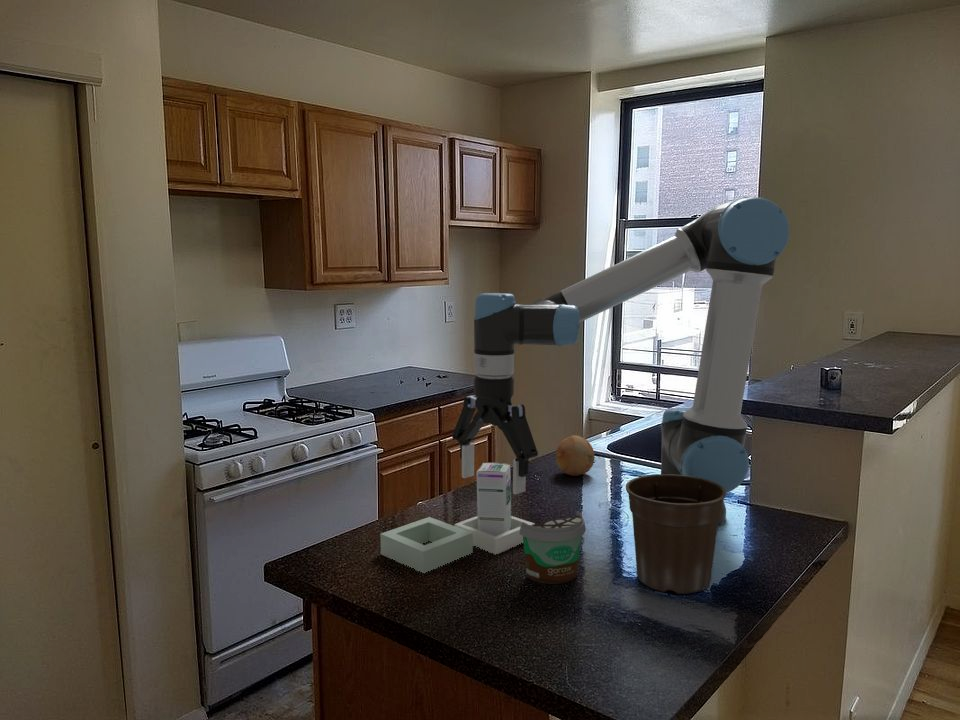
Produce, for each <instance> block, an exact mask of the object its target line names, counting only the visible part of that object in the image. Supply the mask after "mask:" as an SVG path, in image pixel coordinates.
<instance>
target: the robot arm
mask: <svg viewBox="0 0 960 720" xmlns="http://www.w3.org/2000/svg"><path fill="white" fill-rule="evenodd" d="M789 238H790V224H789V220H788V218H787V216H786V214H785V212H784V211H783V210H782V208H780V206H779V205H777V204H776V203H775V202H773V201H772V200H769V199H767V198H763V197H758V196H743V197H740V198H737V199H735V200H730V201H726V202H723V203H720V204H718V205H716V206H715V207H713V208H712V209H710V210H708V211H707V212H705V213H703V214H702V215H701V216H699V217H697V218H696V219H694V220H692V221H690V222H689V223H687V224H685V225H683V226H680V227H679V228H677V229H676V231H675V233H674V235H673V236H672V237H670V238H668V239H666V240H663V241H662V242H661V241H660V242H659V243H658V244H655V245H653V246H651V247H649V248H647V249H645V250H642V251H640V252H638V253H637V254H634V255H632V256H630V257H628V258H626V259H624V260H622V261H620V262H618V263H616V264H613V265H612V266H609V267H607V268H605V269H603V270H601V271H599V272H597V273H595V274H592V275H591V276H588V277H586V278H585V279H582V280H580V281H579V282H576V283H574V284H572V285H570V286H567V287H565V288H563V289H562V290H560V291H558V292H556V293H554V294H551V295H549V296H547V297H545V298H540V299H537V300H536V301H534V302H531V304H523V303H522V304H520V303H516V297H515V295H514V294H512V293H507V292H506V293H505V292H504V293H503V292H502V293H501V292H485V293H479V294H478V295H477V296H476V297H475V300H474V315H473V316H474V318H473V332H474V333H473V337H474V339H473V340H474V341H473V343H474V345H473V346H474V347H473V348H474V349H473V350H474V351H473V352H474V353H473V355H474V357H473V361H474V362H473V363H474V364H473V372H474V374H476V375H475V376H474V377H473V394H474V395H468V396H464V397H463V404H462V405H463V407H462V409H461V412H460V414H459V417H458V420H457V422H456V425H455V427H454V430H453V432H452V436H451V437H452V440H453V441H455V440H456V441H457V442H458V444H459V451H460V452H459V453H460V454H459V457H460V460H461V478H463V479H468V478H470V477H473V476H475V443H473V442H474V440H473V439H474V438H475V437H476V436H477V434H478V433H479V432H480V430H481V428H482V427H484V425H485V424H490V425H492V426H495V427H496V426H497V427H498V429H499V430H501V431H502V433H503V435H504V437H505V439H506V440H507V443H508V444H509V445H510V449H512V451H513V453H514V455H515V457H516V458H514V459H513V460H512V464H513V466H512V494H514V495H518V494H521V493H525V492H526V491H527V490H526V483H527V480H526V479H527V478H526V477H528V475H529V465H530V464H529V460H530V459H531V458H536V457H538V455H539V451H538V449H537V446H536V443H535V441H534V438H533V435H532V431H531V428H530V426H529V422H528V420H527V416H526V407H525V405H524V404H518V405H514V404H512V397H513V395H514V391H515V390H514V389H515V387H514V385H515V380H514V379H515V378H514V377H513V376H512V375H513V374H515V345H521V346H522V345H532V346H533V345H534V346H535V345H537V346H538V345H539V346H544V345H545V346H558V347H562V346H572V345H573V346H574V345H576V344H577V343H578V341H579V337H580V323H582V322H584V321H587V320H588V319H590V318H592V317H595V316H597V315H600V314H601V313H602V312H603V313H604V312H605V311H607V310H609V309H611V308H614V307H616V306H617V305H619V304H620V305H621V304H622V303H624V302H627V301H629V300H631V299H633V298H635V297H637V296H640V295H641V294H643V293H646V292H648V291H650V290H652V289H654V288H656V287H658V286H661V285H663V284H665V283H667V282H669V281H671V280H673V279H676V278H678V277H679V276H682V275H684V274H686V273H689V272H690V271H691V272H693V273H700V272H703V271H704V270H705V271H706V272H707V273H708V274H709V276H710V277H711V280H712V284H711V290H710V297H709V303H708V309H707V310H708V311H707V315H706V322H705V329H704V335H703V341H702V347H701V352H700V359H699V366H698V372H697V378H696V384H695V391H694V397H693V403H692V406H691V407H673V408H668V409H665V410H664V411H663V414H662V421H661V423H660V425H661V451H660V452H661V454H660V455H661V457H660V458H661V459H660V474H674V475H686V476H693V477H699V478H703V479H707V480H710V481H712V482H715V483H717V484H719V485H721V486H722V487H724V488H725V490H726V494H728V493H730V492H732V491H734V490H736V489H737V488H738V487H740V485H741V484H742V483H743V482H744V480H745V479H746V478H747V475H748V472H749V469H750V460H749V456H748V455H749V454H748V452H747V451H746V448H745V440H746V435H747V429H748V423H747V422H746V420H744V418H743V417H742V413H741V412H742V407H743V401H744V395H745V390H746V389H745V388H746V384H747V378H748V372H749V366H750V361H751V360H750V359H751V353H752V347H753V344H754V343H753V342H754V341H753V340H754V336H755V331H756V324H757V321H758V320H757V319H758V315H759V314H758V312H759V309H760V308H759V307H760V302H761V301H760V300H761V295H762V289H763V286H764V285H765V284H766V283H767V282H769V281H770V280H771V279H773V278H774V272H775V268H776V260H777V258H778V257H780V255H781V254H782V253H783V251H784V250H785V249H786V247H787V245H788V242H789ZM475 412H476V413H475ZM726 521H727V507H726V504H725V499H723V503H722V510H721V516H720V518H719V519H718V526H717V527H719V526H721V525H723V524H724V523H725V522H726Z"/></svg>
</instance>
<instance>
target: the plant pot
mask: <svg viewBox="0 0 960 720" xmlns="http://www.w3.org/2000/svg"><path fill="white" fill-rule="evenodd" d="M625 490H626V493H627V494H628V502H629V511H630V512H631V515H632V516H631V517H632V526H633V527H632V529H633V539H634V540H633V541H634V550H635V551H634V553H635V562H636V563H635V564H636V566H635V567H636V576H637V579H638V580H639V582H640V583H642V584H643V585H645V586H646V587H649V588H650V589H652V590H656V591H659V592H662V593H666V592H667V591H673V592H674V593H676V594H678V595H680V594H683V595H684V594H685V595H687V594H694V593H699V592H701V591H703V590H706V589H707V588H708V587H709V586H711V581H712V574H713V568H714V567H713V565H714V558H715V550H716V549H715V548H716V540H717V534H718V533H717V532H718V527H719V526H718V519H719V518H720V516H721V510H722V503H723V500H725V498H726V497H727V493H726V490H725V488H724V487H722V486H721V485H719V484H717V483H715V482H712V481H710V480H707V479H703V478H699V477H693V476H686V475H674V474H661V473H660V474H657V473H656V474H647V475H642V476H639V477H635V478H632V479H630V480H629V481H627V482H626V483H625Z"/></svg>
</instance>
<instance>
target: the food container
mask: <svg viewBox="0 0 960 720" xmlns="http://www.w3.org/2000/svg"><path fill="white" fill-rule="evenodd" d="M575 513H576V514H575V516H570V517H565V518H551V519H548V520H545V521H542V522H539V523H536V524H535V525H528V524H525V523H524V522H522V526H521V527H520V532H519V534H520V535H522V536H523V542H524V543H523V551H524V560H525V561H524V562H525V563H524V564H525V574H526V577H527V579H529V580H531V581H534V582H537V583H542V584H549V585H551V584H552V585H554V584H557V585H558V584H563V583H568V582H570V581H572V580H574V579H576V578H577V576H578V569H579V559H580V552H581V543H582V536H583V535H584V534H585V533H586V532H587V531H586V530H587V529H586V524H585V523H586V521H585V519H584V517H583V516H584V515H583V514H581V512H580V511H578V510H577V511H576V512H575Z"/></svg>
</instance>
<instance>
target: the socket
mask: <svg viewBox="0 0 960 720" xmlns="http://www.w3.org/2000/svg"><path fill="white" fill-rule="evenodd" d="M379 535H380V536H379V537H380V555H382V556H384V557H386V558H388V559H390V560H392V559H393V561H394V560H395V562H397V563H399V564H401V565H403V564H404V565H403V566H406V565H407V566H406V567H408V566H409V567H408V568H410V567H411V569H412V568H414V569H415V570H414V569H413V570H414V571H416V572H419V571H420V572H419V573H421V572H422V574H423V573H424V574H426V572H427V573H429V572H432V571H433V569H434V570H437V569H439V568H441V567H443V565H444V566H446V565H448V564H451V563H453V562H455V561H454V560H456V561H458V560H460V559H459V558H461V557H463V558H465V557H467V556H466V555H468V556H470V555H472V554H471V553H474V552H473V550H474V546H473V533H472V532H469V531H466V530H463V529H461V528H458V527H455V526H454V525H452V524H450V523H447V522H444V521H442V520H439V519H436V518H435V517H434V518H433V517H432V516H427V517H426V518H422V519H419V520H416V521H413V522H410V523H408V524H405V525H402V526H399V527H396V528H393V529H389V530H388V531H384V532H381V533H380V534H379ZM428 541H430V542H432V543H430V542H428ZM426 542H427V543H426ZM423 543H425V544H423ZM469 554H470V555H469ZM464 556H465V557H464ZM457 559H458V560H457ZM461 559H462V558H461ZM452 561H453V562H452ZM450 562H451V563H450ZM447 563H448V564H447ZM445 564H446V565H445ZM440 566H441V567H440ZM438 567H439V568H438ZM431 570H432V571H431ZM428 571H429V572H428Z"/></svg>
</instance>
